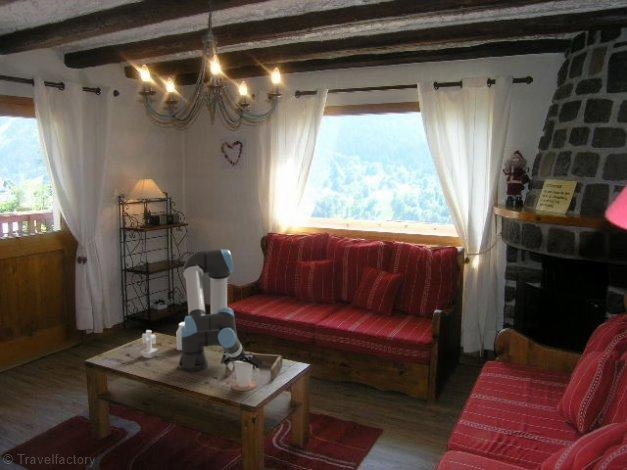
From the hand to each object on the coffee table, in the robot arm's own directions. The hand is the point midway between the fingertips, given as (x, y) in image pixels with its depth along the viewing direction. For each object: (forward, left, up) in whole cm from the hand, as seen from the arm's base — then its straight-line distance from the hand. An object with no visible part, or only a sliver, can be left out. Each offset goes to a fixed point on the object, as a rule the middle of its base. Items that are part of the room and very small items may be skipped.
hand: (245, 368), depth 247 cm
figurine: (-25, -64, -8) cm, 69 cm away
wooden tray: (-16, 0, -8) cm, 18 cm away
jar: (-41, -49, -8) cm, 64 cm away
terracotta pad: (+2, 0, -8) cm, 8 cm away
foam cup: (+2, 0, -7) cm, 8 cm away
